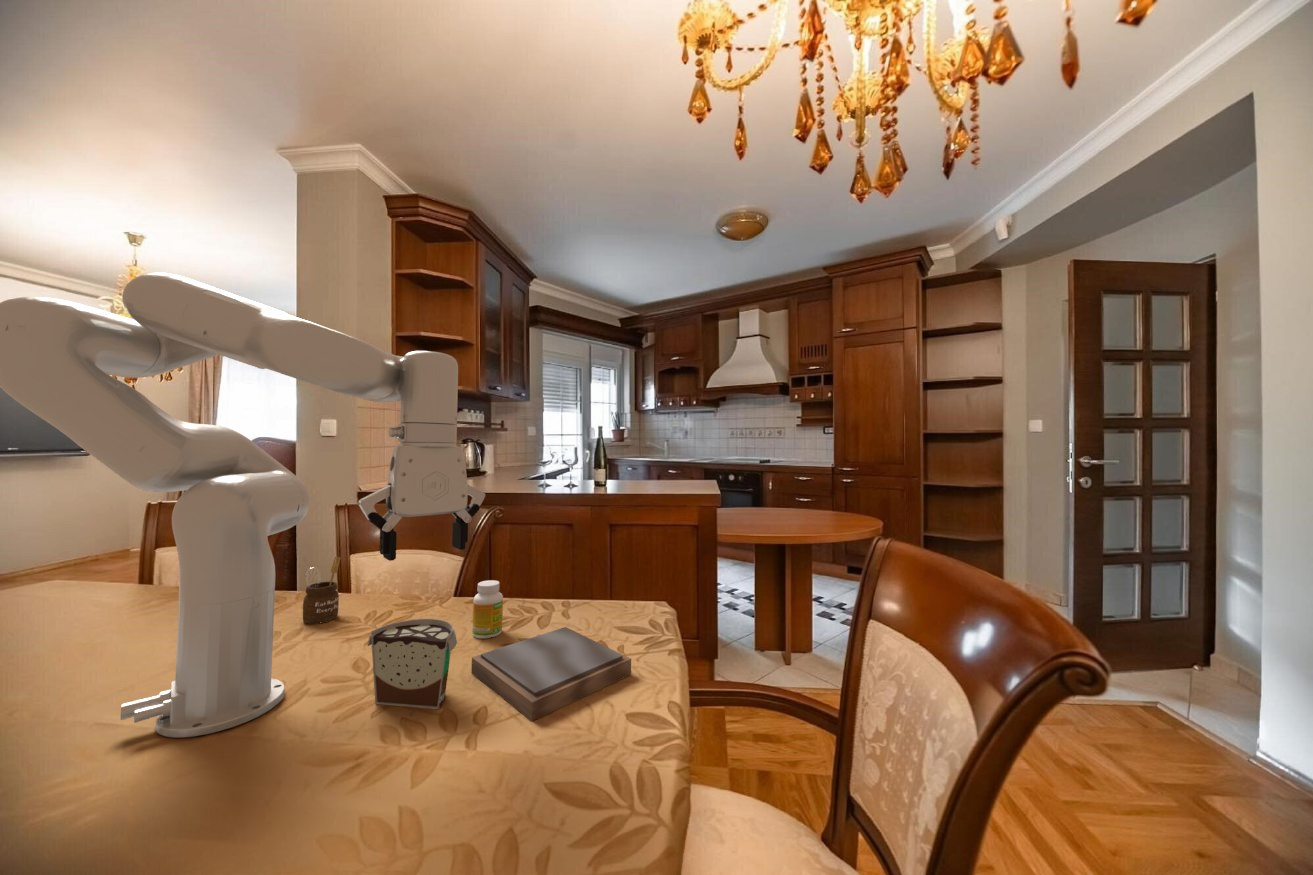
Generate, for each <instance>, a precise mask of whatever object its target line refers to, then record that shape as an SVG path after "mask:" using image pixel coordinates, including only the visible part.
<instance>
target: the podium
mask: <svg viewBox="0 0 1313 875" xmlns="http://www.w3.org/2000/svg"><path fill="white" fill-rule="evenodd" d="M470 671H471V672H470V673H471V674H472V675H473V676H474V677H475V678H477V679H478V680H479V681H481V682H482V683H483V684H484V685H486V686H487V687H488V688H489V689H491V691H493V692H494V693H495V694H497V695H498V696H499V697H500V698H502V699H503V700H504V701H506V702H507V703H508V704H509V705H511V706H512V707H513V708H515V710H517V711H518V712H519V713H521V714H522V715H523V716H524V717H526V718H527V719H528V720H530V721H531V722H533V721H536V720H537V719H540V718H542V717H544V716H546V715H549V714H550V713H553V712H554V711H557V710H558V709H560V708H563V707H566V706H567V705H570V704H572V703H573V702H576V701H578V700H581V699H582V698H584V697H586V696H587V697H588V695H591V694H593V693H595V692H597V691H599V690H602V689H604V688H605V686H606V687H607V685H608V686H610V685H612V684H614V683H616V682H618V681H620V680H622V679H621V678H623V677H625V676H627V675H629V674H631V675H632V658H630V657H628V656H626V655H625V654H622V653H620V652H619V651H616V650H614V649H611V648H610V647H608V646H605V645H604V644H602V643H600V642H598V641H596V640H593V639H591V638H589V637H588V636H585V635H583V634H581V633H579V632H577V631H575V630H572V629H570V628H568V627H567V626H564V627H561V628H558V629H555V630H552V631H549V632H548V631H547V632H545V633H543V634H539V635H536V636H533V637H530V638H526V639H525V640H521V641H518V642H515V643H511V644H508V645H504V646H502V647H499V648H495V649H493V650H490V651H486V652H484V653H481V654H478V655H475V656H472V657H471V669H470ZM629 676H630V675H629ZM627 677H628V676H627ZM625 678H626V677H625ZM619 679H620V680H619ZM623 679H624V678H623ZM615 681H616V682H615ZM613 682H614V683H613ZM611 683H612V684H611ZM592 692H593V693H592Z"/></svg>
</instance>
